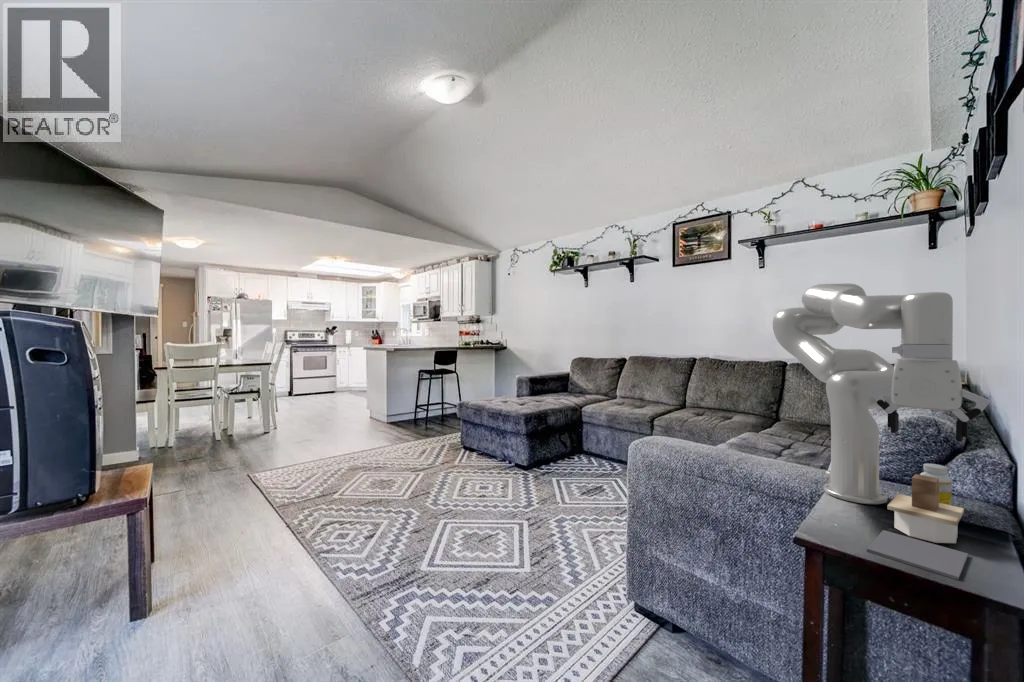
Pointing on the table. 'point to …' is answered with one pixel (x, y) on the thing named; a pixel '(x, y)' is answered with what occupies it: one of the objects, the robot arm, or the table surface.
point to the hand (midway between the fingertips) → (925, 435)
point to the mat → (919, 554)
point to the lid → (926, 502)
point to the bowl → (925, 528)
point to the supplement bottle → (940, 481)
